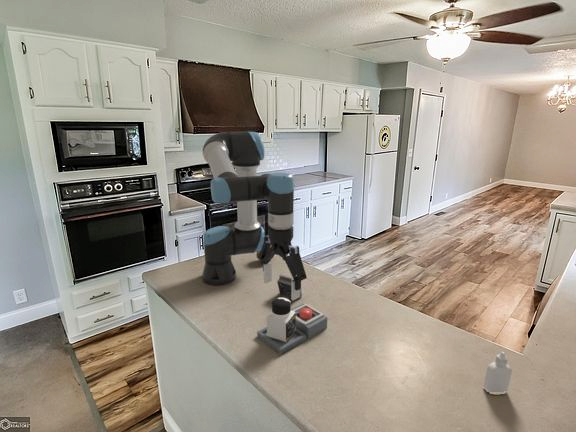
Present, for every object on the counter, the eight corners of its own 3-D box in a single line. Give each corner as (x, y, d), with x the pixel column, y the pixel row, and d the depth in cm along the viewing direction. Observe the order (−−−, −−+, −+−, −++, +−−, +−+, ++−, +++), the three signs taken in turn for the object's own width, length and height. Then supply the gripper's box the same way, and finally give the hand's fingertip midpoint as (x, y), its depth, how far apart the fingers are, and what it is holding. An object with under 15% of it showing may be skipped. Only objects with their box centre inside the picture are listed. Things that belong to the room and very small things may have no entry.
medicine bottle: (286, 342, 103) (286, 309, 99) (266, 336, 106) (265, 303, 102) (295, 330, 109) (296, 298, 105) (276, 324, 112) (276, 293, 108)
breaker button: (296, 320, 114) (296, 311, 113) (305, 315, 117) (305, 306, 116) (305, 326, 111) (305, 316, 110) (314, 321, 114) (314, 311, 113)
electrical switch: (302, 297, 133) (301, 277, 130) (296, 303, 129) (294, 283, 126) (283, 290, 138) (282, 271, 134) (276, 297, 134) (275, 277, 130)
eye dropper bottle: (481, 381, 90) (489, 344, 86) (505, 388, 87) (514, 350, 84) (483, 393, 86) (491, 354, 82) (508, 400, 83) (517, 361, 80)
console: (257, 336, 108) (256, 324, 107) (303, 312, 122) (303, 302, 120) (280, 355, 100) (280, 342, 99) (327, 327, 113) (327, 315, 112)
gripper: (246, 218, 103) (248, 279, 110) (300, 240, 85) (299, 311, 92) (265, 214, 108) (266, 272, 114) (320, 233, 90) (317, 301, 96)
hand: (281, 289), depth 103 cm, fingers open, 13 cm apart
